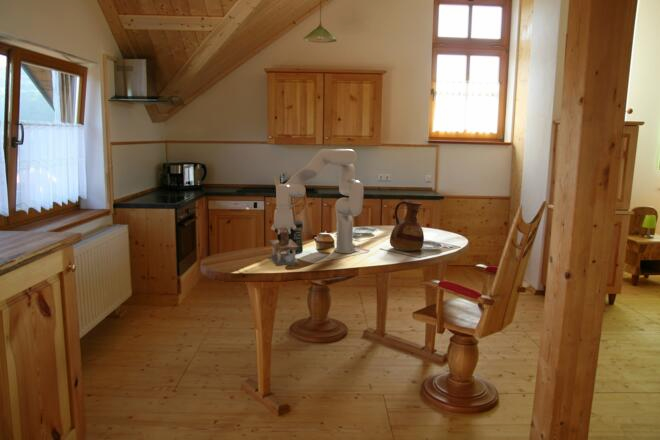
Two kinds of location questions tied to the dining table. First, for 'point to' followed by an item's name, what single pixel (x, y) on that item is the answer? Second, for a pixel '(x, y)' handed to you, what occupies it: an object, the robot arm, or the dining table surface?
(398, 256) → the dining table surface
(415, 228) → the ceramic pitcher
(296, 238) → the coffee jar
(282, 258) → the peg stand
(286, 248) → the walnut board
